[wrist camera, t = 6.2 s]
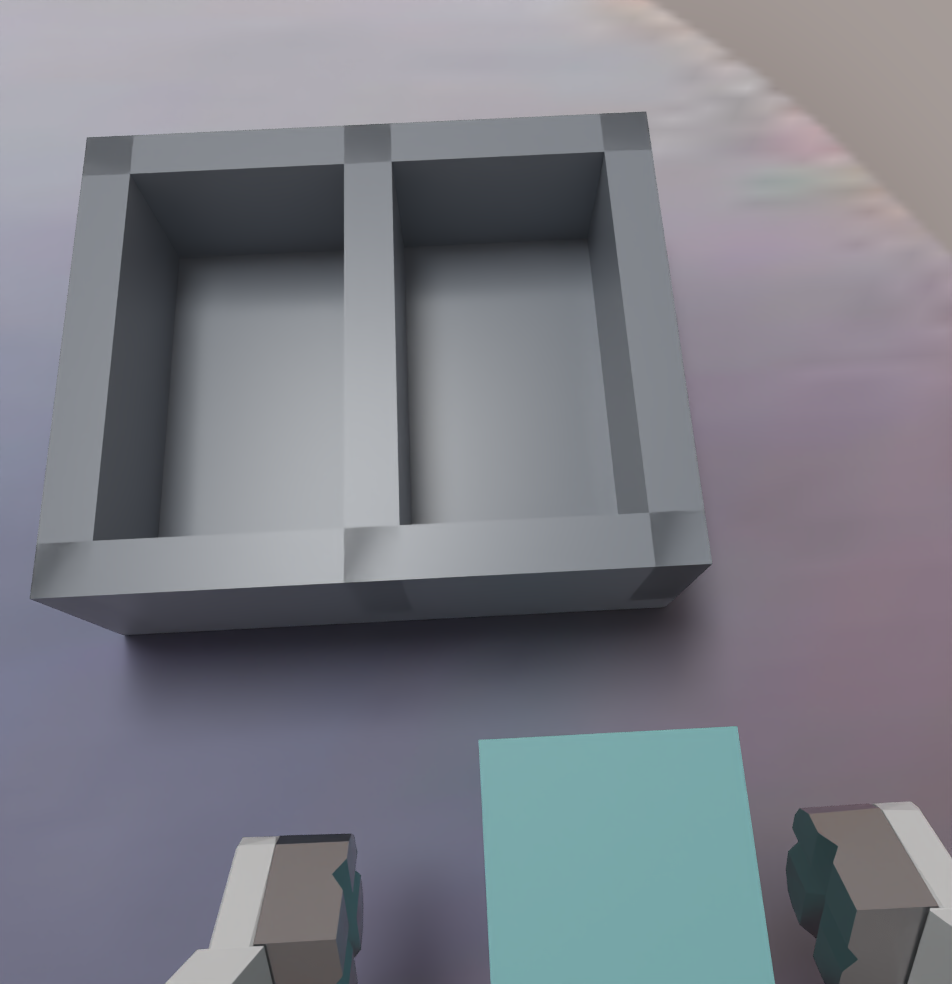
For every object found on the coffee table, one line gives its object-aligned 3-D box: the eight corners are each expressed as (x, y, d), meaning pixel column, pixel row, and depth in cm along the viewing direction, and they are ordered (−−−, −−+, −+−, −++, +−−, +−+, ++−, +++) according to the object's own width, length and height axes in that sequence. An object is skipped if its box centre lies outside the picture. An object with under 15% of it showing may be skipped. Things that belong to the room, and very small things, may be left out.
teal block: (491, 974, 16) (503, 1255, 7) (480, 759, 17) (478, 740, 8) (620, 967, 16) (813, 1238, 7) (599, 752, 17) (736, 726, 8)
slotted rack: (123, 635, 18) (30, 598, 15) (156, 249, 22) (87, 137, 18) (665, 607, 18) (712, 563, 15) (617, 227, 22) (645, 112, 18)
